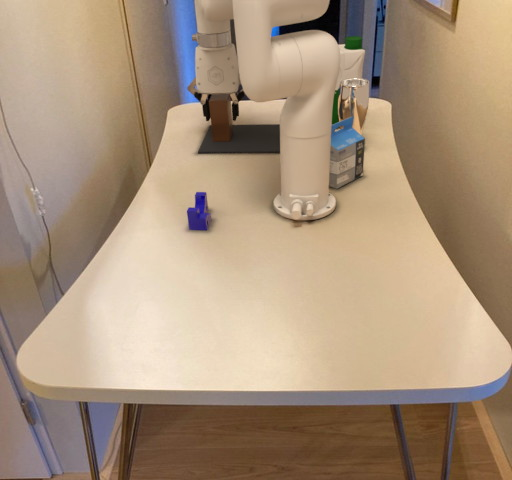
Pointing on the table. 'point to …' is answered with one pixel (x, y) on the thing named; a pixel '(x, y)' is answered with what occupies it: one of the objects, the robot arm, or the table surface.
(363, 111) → the silver metal cup
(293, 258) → the table surface
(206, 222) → the cable holder
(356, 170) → the label tape box
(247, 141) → the mat
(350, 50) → the milk carton
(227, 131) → the walnut block
